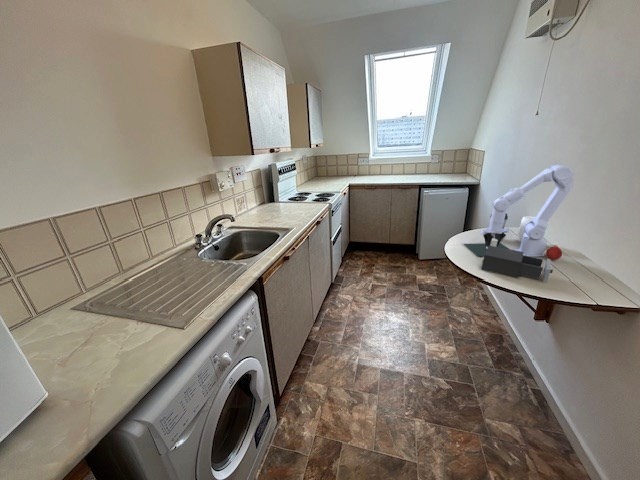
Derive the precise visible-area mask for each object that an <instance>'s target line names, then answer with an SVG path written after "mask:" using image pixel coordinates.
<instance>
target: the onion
mask: <svg viewBox="0 0 640 480" xmlns="http://www.w3.org/2000/svg"><path fill="white" fill-rule="evenodd" d="M545 255H546V257H547V259H550V260H551V262H552V261H557V260H559V259H560V258H562V256H563V251H562V249H561V248H560V247H559V246H558V244H555V245H553V246H551V247H548V248H547V249H546V250H545Z"/></svg>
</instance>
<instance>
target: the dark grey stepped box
mask: <svg viewBox="0 0 640 480" xmlns="http://www.w3.org/2000/svg"><path fill="white" fill-rule="evenodd" d="M522 258H523V252H521V251H516V250H515V249H510V248H509V249H505V248H500V247H494V246H489V247H488V249H487V251H486V253H485V255H484V257H483V259H482V265H481V270H482V271H486V272H490V273H494V274H498V275H503V276H506V277H511V278H515V279H518V277H519V270H520V267H521V263H522Z"/></svg>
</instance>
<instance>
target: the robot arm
mask: <svg viewBox="0 0 640 480" xmlns="http://www.w3.org/2000/svg"><path fill="white" fill-rule="evenodd" d="M574 176H575V173H574V171H573V169H572V168H571V167H570V166H567V165H564V164H561V163H554V164H552V165H550V166H549V167H547V168H545V169H544V170H542V171H541V172H539V173H538V174H537V175H536V176H533V178H532V179H530V180H529V181H527V182H526V183H525V184H523V185H521V186H520V187H515V188H513V187H512V188H511V189H509V191H508V192H506V193H505V194H504V195H500V197H498V198H496V199H495V200H494V201H493V202H492V206H493V209H492V213H491V214H492V216H491V215H490V216H491V221H490V220H489V223H490V225H489V224H488V228H484V229H481V230H480V232H479V234H480V235H481V236H483V239H484V244H485V246H487V247H489V246H490V243H491V240H492V238H493V237H494V236H492V235H491V234H494V233H495V239H497V240H498V242H497V246H498V245H499V243H501V242H502V241H503V239H505V237H506V236H507V234H509V233H510V228H507V227H506V228H505V227H504V228H502V227H503V223H504V219H505V213H506V212H507V211H508V209H509V208H510V206H512V205H514V204H515V203H517V202H518V201H519V200H521V199H523V198H524V197H525V195H526V193H528V192H529V191H531V190H533V189H534V188H536V187H538V186H539V185H541V184H543V183H548V182H549V183H550V182H554V185H555V188H554V189H553V191H552V192H551V194H550V195H549V197H548V198H547V199H546V201H545V203H544V204H543V206H542V207H541V208H540V210H539V211H538V213H537V214H536V216H534V217H535V218H533V219H532V220H531V221H530V222H529V223H527V224H526V225H525V226H524V230H525V234H524V235H523V239H522V242H520V247H519V248H517V249H516V248H515V249H514V250H516V251H521V252H523V255H524V256H530V257H545V254H544V253H545V251H546V247H547V240H546V238H545V234H546V233H545V232H546V230H547V228H548V223H549V221H550V219H551V218H552V217H553V215H554V214H555V213H556V212H557V210H558V209H559V207H560V206H561V205H562V203H563V202H564V200H565V199H566V198H567V196H568V195H569V194H570V192H571V191H572V189H573V187H574ZM506 214H507V213H506Z"/></svg>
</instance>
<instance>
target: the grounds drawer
mask: <svg viewBox="0 0 640 480" xmlns="http://www.w3.org/2000/svg"><path fill="white" fill-rule="evenodd" d="M543 262H544V259H543V258H540V257H536V256H534V257H530V256H524V255H523V258H522V263H521V267H520V270H519V274H518V276H524V277H528V278H532V279H537V280H540V278H541V276H543V277H542V282H544V283H548V280H549V277H550V275H551V274H553V272H554V269H552V260H550V259H549V258H547V259H546V261H545V264H544V267H543V266H542V264H543ZM542 273H543V275H542Z"/></svg>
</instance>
